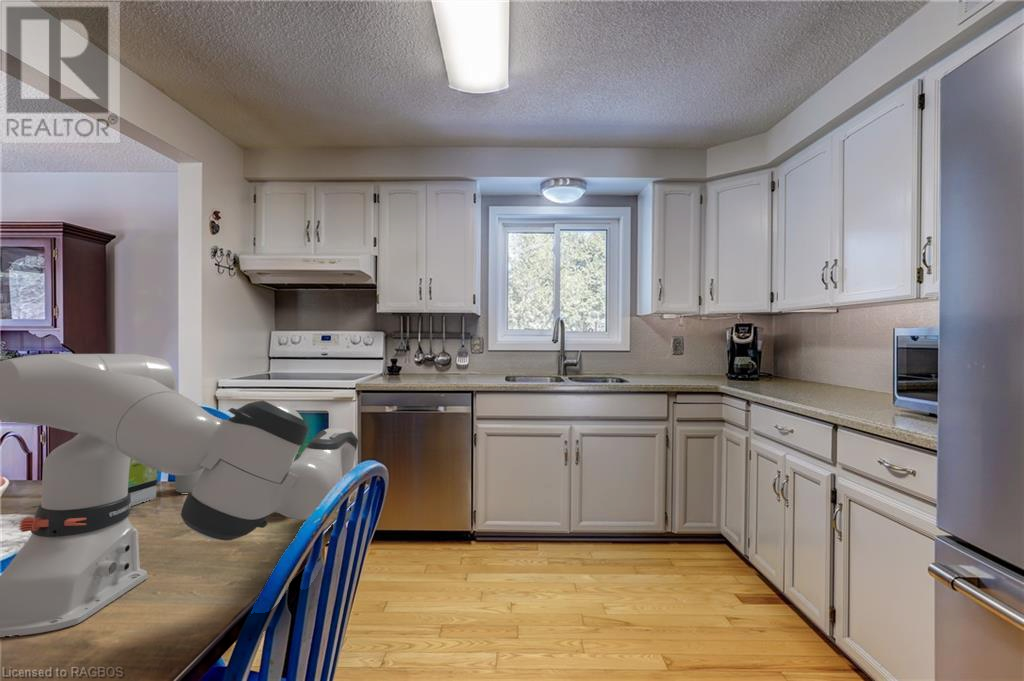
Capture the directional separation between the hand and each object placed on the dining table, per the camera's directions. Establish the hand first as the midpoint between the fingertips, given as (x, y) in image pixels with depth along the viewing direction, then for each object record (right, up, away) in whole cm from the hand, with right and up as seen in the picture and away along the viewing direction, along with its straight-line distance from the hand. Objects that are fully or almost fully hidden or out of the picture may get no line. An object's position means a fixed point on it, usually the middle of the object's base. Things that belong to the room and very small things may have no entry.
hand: (265, 478), depth 125 cm
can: (-25, -6, +9) cm, 27 cm away
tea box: (-35, -6, -5) cm, 36 cm away
